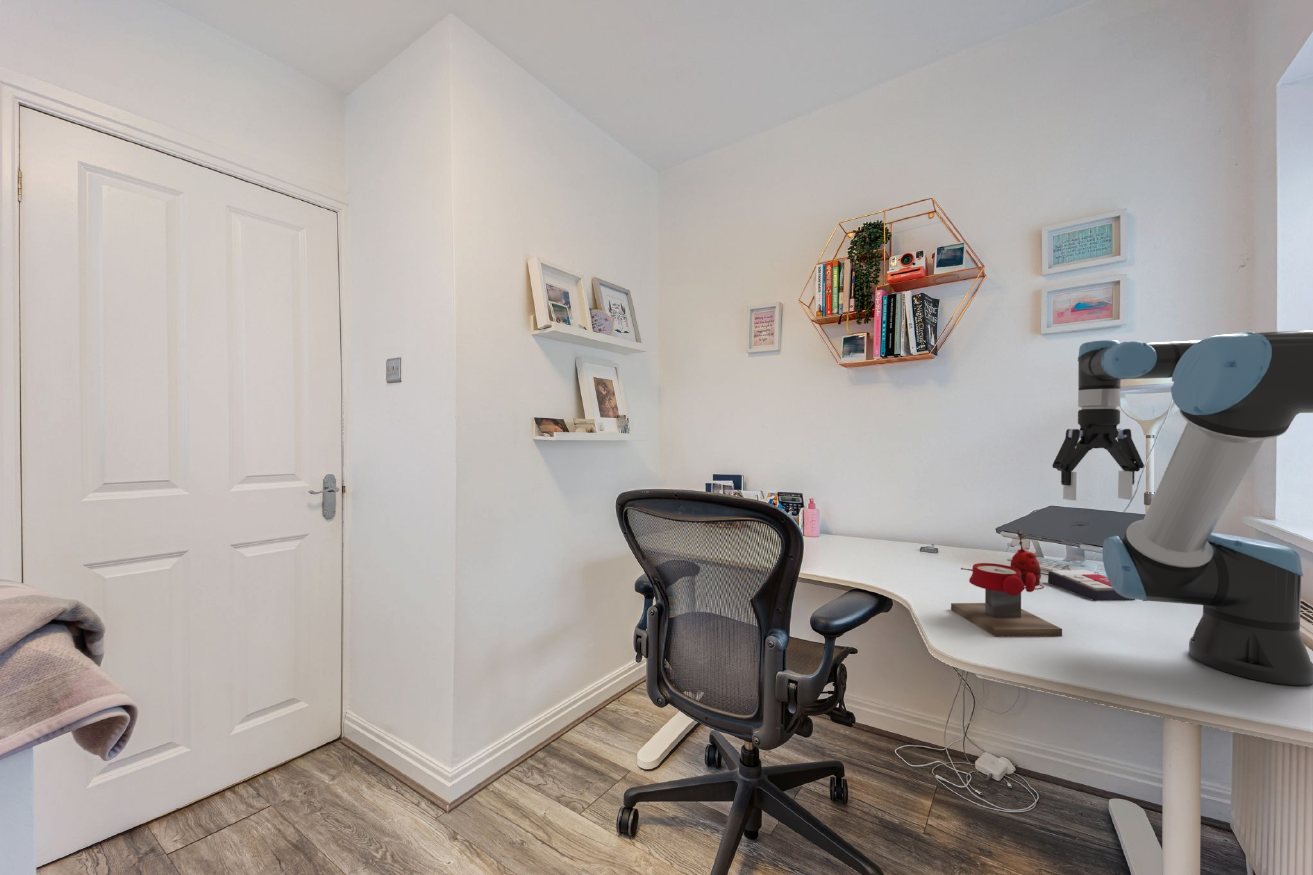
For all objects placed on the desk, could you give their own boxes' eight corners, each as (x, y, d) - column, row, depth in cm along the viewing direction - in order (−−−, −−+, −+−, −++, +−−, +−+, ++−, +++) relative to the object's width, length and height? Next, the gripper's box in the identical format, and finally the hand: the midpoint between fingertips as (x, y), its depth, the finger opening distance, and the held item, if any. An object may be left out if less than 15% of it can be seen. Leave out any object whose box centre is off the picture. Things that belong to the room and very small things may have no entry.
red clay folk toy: (1047, 585, 142) (1048, 531, 142) (1024, 586, 141) (1025, 532, 141) (1024, 577, 150) (1025, 525, 150) (1002, 578, 149) (1003, 526, 149)
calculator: (1095, 587, 130) (1047, 568, 145) (1094, 604, 130) (1046, 583, 145) (1137, 587, 130) (1085, 567, 145) (1136, 603, 131) (1084, 582, 145)
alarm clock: (983, 561, 126) (1050, 561, 112) (989, 587, 124) (1057, 591, 111) (954, 565, 121) (1020, 566, 108) (959, 593, 120) (1027, 598, 107)
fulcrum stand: (1062, 635, 108) (1062, 600, 108) (995, 636, 108) (995, 600, 108) (1009, 608, 124) (1009, 577, 124) (951, 609, 124) (951, 578, 124)
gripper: (1133, 408, 126) (1132, 496, 126) (1034, 409, 124) (1033, 497, 125) (1165, 407, 118) (1164, 500, 119) (1060, 407, 117) (1059, 502, 117)
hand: (1097, 499), depth 122 cm, fingers open, 13 cm apart
